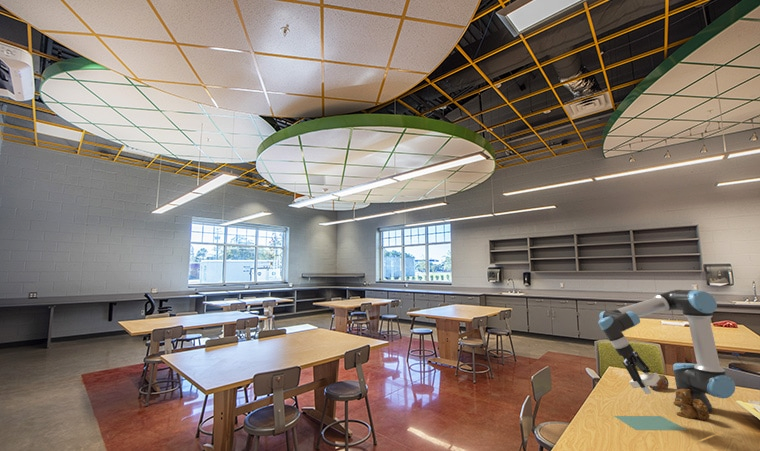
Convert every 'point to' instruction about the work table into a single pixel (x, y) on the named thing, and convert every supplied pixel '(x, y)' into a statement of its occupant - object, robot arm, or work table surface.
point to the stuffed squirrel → (690, 406)
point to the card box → (646, 380)
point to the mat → (649, 423)
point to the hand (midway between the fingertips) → (651, 389)
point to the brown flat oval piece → (661, 383)
